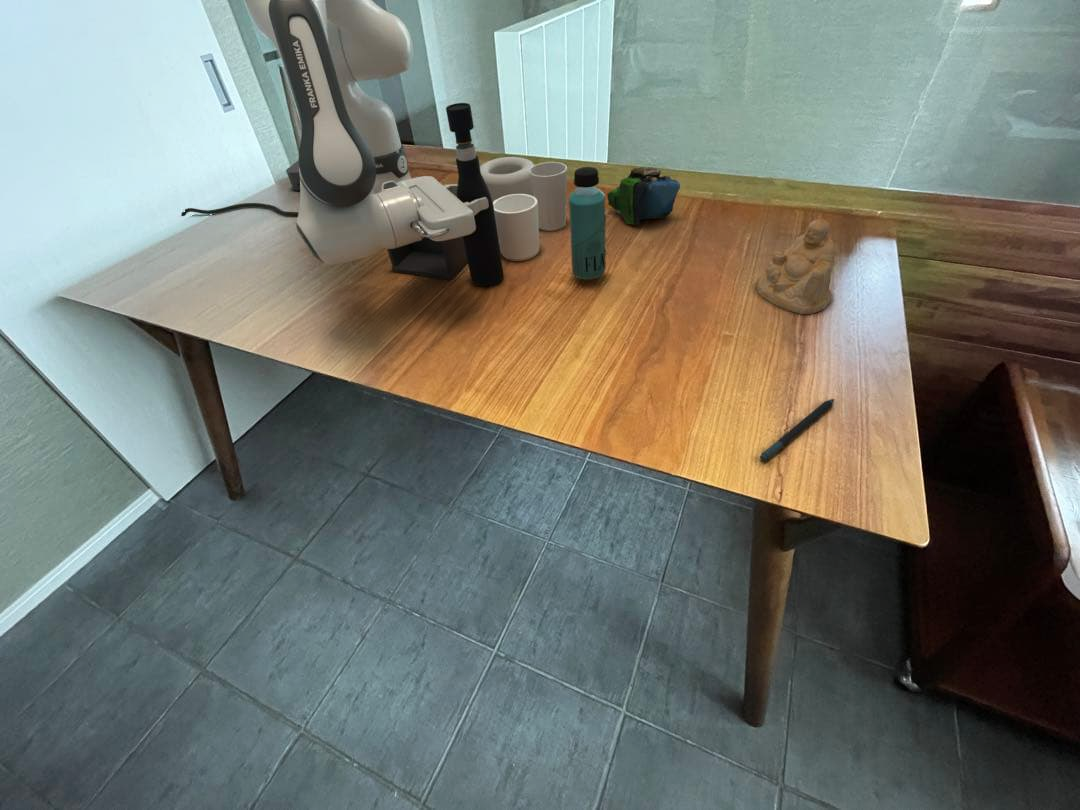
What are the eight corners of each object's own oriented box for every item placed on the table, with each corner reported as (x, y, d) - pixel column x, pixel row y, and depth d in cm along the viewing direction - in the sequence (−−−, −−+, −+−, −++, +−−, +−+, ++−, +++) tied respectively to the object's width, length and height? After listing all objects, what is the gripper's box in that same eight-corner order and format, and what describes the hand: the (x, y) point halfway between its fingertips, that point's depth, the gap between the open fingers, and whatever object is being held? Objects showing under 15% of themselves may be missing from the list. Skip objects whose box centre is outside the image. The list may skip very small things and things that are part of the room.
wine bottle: (491, 289, 99) (461, 114, 78) (464, 281, 102) (428, 110, 81) (510, 273, 103) (486, 101, 82) (484, 266, 105) (454, 99, 85)
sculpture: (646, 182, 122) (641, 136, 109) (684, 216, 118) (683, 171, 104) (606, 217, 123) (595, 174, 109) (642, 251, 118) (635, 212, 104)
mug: (550, 248, 109) (546, 200, 102) (520, 266, 105) (514, 217, 98) (513, 235, 115) (507, 188, 108) (483, 252, 111) (475, 204, 104)
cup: (570, 215, 120) (568, 160, 112) (568, 231, 114) (565, 175, 106) (536, 216, 121) (531, 162, 113) (532, 232, 115) (526, 177, 107)
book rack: (392, 271, 108) (375, 215, 100) (412, 253, 113) (397, 198, 105) (452, 280, 104) (438, 222, 95) (470, 260, 109) (459, 203, 100)
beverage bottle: (583, 290, 97) (579, 181, 83) (565, 275, 101) (559, 169, 87) (612, 280, 99) (614, 170, 85) (594, 265, 103) (592, 159, 89)
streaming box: (359, 170, 153) (353, 152, 150) (336, 191, 143) (329, 171, 140) (314, 171, 156) (308, 153, 152) (289, 191, 146) (281, 172, 142)
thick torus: (527, 207, 125) (524, 179, 120) (469, 204, 129) (464, 177, 124) (545, 182, 135) (542, 155, 131) (490, 180, 139) (486, 154, 134)
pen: (836, 404, 71) (839, 398, 70) (765, 464, 65) (767, 457, 64) (829, 400, 72) (831, 394, 71) (757, 459, 66) (759, 453, 65)
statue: (879, 231, 82) (846, 233, 77) (836, 313, 90) (804, 320, 85) (811, 208, 90) (777, 208, 85) (777, 285, 98) (744, 290, 92)
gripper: (418, 220, 78) (501, 195, 82) (380, 179, 92) (453, 160, 96) (427, 258, 83) (506, 233, 87) (390, 214, 96) (459, 194, 100)
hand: (478, 194), depth 91 cm, fingers closed on wine bottle, 6 cm apart
